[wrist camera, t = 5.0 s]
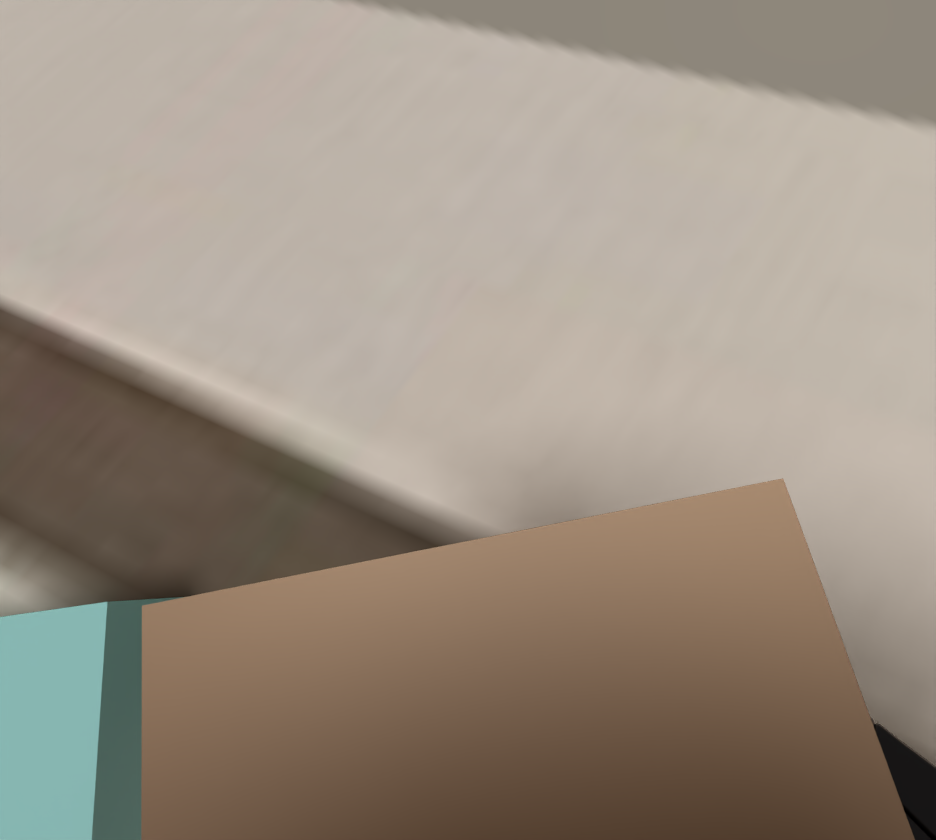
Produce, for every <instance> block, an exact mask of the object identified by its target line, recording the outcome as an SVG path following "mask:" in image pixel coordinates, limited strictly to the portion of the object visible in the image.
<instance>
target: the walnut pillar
mask: <svg viewBox="0 0 936 840" xmlns="http://www.w3.org/2000/svg"><path fill="white" fill-rule="evenodd" d="M141 840H915V839H914V836H913V833H912V830H911V828H910V825H909V822H908V819H907V817H906V814H905V811H904V809H903V806H902V803H901V800H900V798H899V795H898V792H897V789H896V787H895V784H894V781H893V778H892V776H891V773H890V770H889V767H888V765H887V762H886V759H885V756H884V754H883V751H882V748H881V745H880V743H879V740H878V737H877V735H876V732H875V729H874V726H873V724H872V721H871V718H870V715H869V713H868V710H867V707H866V704H865V702H864V699H863V696H862V693H861V691H860V688H859V685H858V682H857V680H856V677H855V674H854V672H853V669H852V666H851V663H850V661H849V658H848V655H847V652H846V650H845V647H844V644H843V641H842V639H841V636H840V633H839V630H838V628H837V625H836V622H835V619H834V617H833V614H832V611H831V608H830V606H829V603H828V600H827V598H826V595H825V592H824V589H823V587H822V584H821V581H820V578H819V576H818V573H817V570H816V567H815V565H814V562H813V559H812V556H811V554H810V551H809V548H808V545H807V543H806V540H805V537H804V535H803V532H802V529H801V526H800V524H799V521H798V518H797V515H796V513H795V510H794V507H793V504H792V502H791V499H790V496H789V493H788V491H787V488H786V485H785V482H784V480H783V479H778V480H773V481H768V482H763V483H758V484H753V485H748V486H743V487H738V488H733V489H728V490H723V491H718V492H713V493H708V494H703V495H698V496H693V497H688V498H682V499H677V500H672V501H667V502H662V503H657V504H652V505H647V506H642V507H637V508H632V509H627V510H622V511H617V512H612V513H607V514H602V515H597V516H592V517H587V518H582V519H577V520H572V521H567V522H561V523H556V524H551V525H546V526H541V527H536V528H531V529H526V530H521V531H516V532H511V533H506V534H501V535H496V536H491V537H486V538H481V539H476V540H471V541H466V542H461V543H456V544H451V545H445V546H440V547H435V548H430V549H425V550H420V551H415V552H410V553H405V554H400V555H395V556H390V557H385V558H380V559H375V560H370V561H365V562H360V563H355V564H350V565H345V566H340V567H335V568H330V569H324V570H319V571H314V572H309V573H304V574H299V575H294V576H289V577H284V578H279V579H274V580H269V581H264V582H259V583H254V584H249V585H244V586H239V587H234V588H229V589H224V590H219V591H214V592H209V593H203V594H198V595H193V596H188V597H183V598H178V599H173V600H168V601H163V602H158V603H153V604H148V605H143V606H142V767H141Z"/></svg>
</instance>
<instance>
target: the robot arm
mask: <svg viewBox="0 0 936 840" xmlns="http://www.w3.org/2000/svg"><path fill="white" fill-rule="evenodd" d="M870 718H871V717H870ZM871 721H872V724H873V726H874V729H875V732H876V735H877V737H878V740H879V743H880V745H881V748H882V751H883V754H884V756H885V759H886V762H887V765H888V767H889V770H890V773H891V776H892V778H893V781H894V784H895V787H896V789H897V792H898V795H899V798H900V800H901V803H902V806H903V809H904V811H905V814H906V817H907V819H908V822H909V825H910V828H911V830H912V833H913V836H914V839H915V840H936V767H935V766H934V765H933V764H931V763H930V762H929V761H927V760H926V759H925V758H923V757H922V756H921V755H919V754H918V753H917V752H915V751H914V750H913V749H911V748H910V747H909V746H907V745H906V744H905V743H903V742H902V741H901V740H899V739H898V738H897V737H895V736H894V735H893V734H892V733H890V732H889V731H888V730H887V729H885V728H884V727H883V726H881V725H880V724H878V723H876V724H874V721H873V719H872V718H871Z"/></svg>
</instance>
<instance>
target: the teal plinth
mask: <svg viewBox="0 0 936 840" xmlns="http://www.w3.org/2000/svg"><path fill="white" fill-rule="evenodd" d="M178 598H183V597H176V598H160V599H144V600H128V601H113V602H103V603H96V604H89V605H82V606H75V607H67V608H60V609H53V610H46V611H39V612H32V613H25V614H18V615H11V616H4V617H0V840H141V767H142V606H143V605H148V604H153V603H158V602H163V601H168V600H173V599H178Z"/></svg>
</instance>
